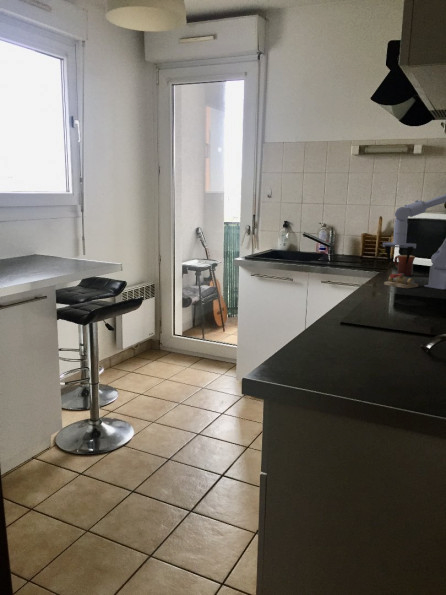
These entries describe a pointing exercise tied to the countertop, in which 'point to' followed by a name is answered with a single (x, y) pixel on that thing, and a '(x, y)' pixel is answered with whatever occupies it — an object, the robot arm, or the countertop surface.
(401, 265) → the mug
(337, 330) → the countertop surface
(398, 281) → the valve board
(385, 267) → the countertop surface
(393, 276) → the valve lever
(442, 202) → the robot arm
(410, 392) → the countertop surface
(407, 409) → the countertop surface
